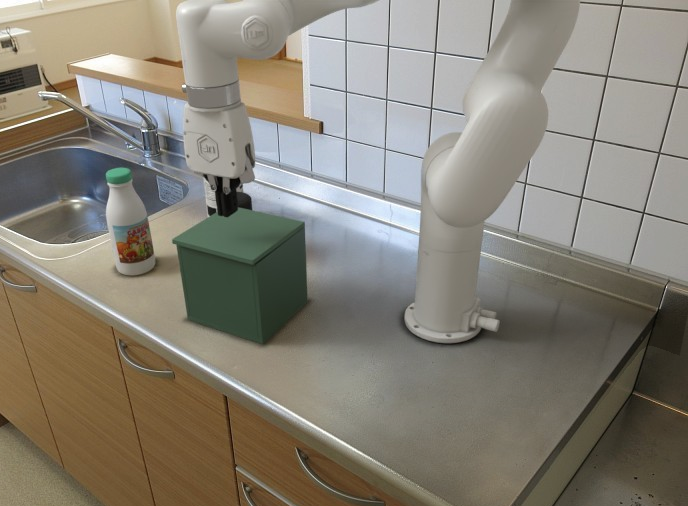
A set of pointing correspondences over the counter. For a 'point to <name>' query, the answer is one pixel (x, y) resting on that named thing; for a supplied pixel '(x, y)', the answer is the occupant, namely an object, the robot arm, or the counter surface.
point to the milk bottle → (128, 225)
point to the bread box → (245, 289)
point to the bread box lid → (239, 235)
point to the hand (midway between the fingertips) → (228, 213)
